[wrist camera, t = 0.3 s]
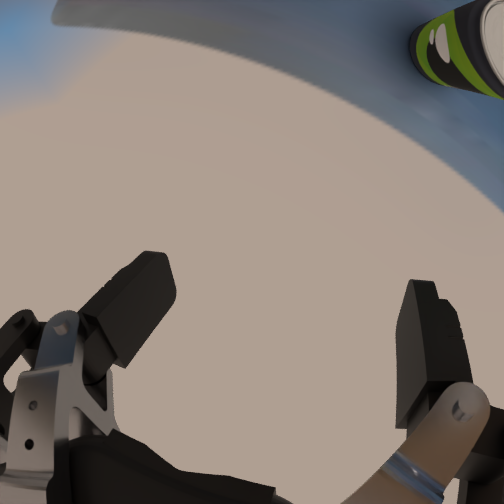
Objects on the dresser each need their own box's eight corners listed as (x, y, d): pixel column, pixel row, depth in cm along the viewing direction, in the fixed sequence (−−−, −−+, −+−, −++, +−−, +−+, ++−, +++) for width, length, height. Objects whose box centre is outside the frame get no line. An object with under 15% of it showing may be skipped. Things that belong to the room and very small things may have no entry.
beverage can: (474, 48, 16) (572, 51, 4) (453, 97, 20) (544, 133, 8) (419, 12, 16) (491, -31, 4) (398, 62, 20) (461, 55, 8)
